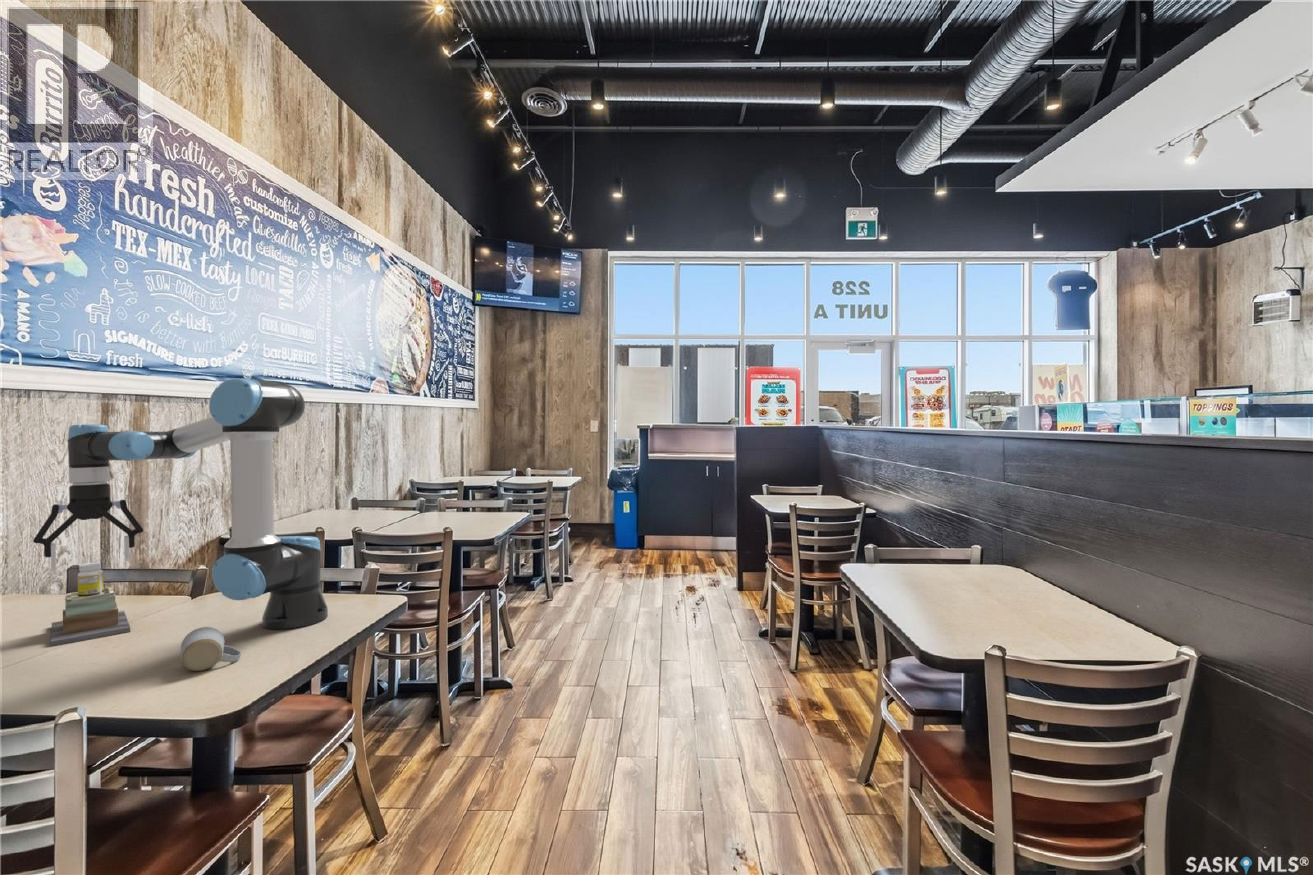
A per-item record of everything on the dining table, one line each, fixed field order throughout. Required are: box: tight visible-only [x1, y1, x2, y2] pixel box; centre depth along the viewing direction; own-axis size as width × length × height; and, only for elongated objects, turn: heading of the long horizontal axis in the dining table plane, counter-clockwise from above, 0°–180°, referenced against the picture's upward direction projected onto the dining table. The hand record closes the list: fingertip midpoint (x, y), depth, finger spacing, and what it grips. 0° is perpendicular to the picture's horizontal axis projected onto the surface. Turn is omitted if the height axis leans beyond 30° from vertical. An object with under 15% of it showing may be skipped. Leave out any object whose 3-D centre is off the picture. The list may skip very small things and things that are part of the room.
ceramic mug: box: [180, 626, 242, 672], centre depth 126 cm, size 11×8×8 cm
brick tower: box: [50, 586, 131, 647], centre depth 149 cm, size 20×14×10 cm
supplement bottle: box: [77, 562, 104, 598], centre depth 149 cm, size 5×5×8 cm
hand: (91, 565), depth 149 cm, fingers open, 13 cm apart
